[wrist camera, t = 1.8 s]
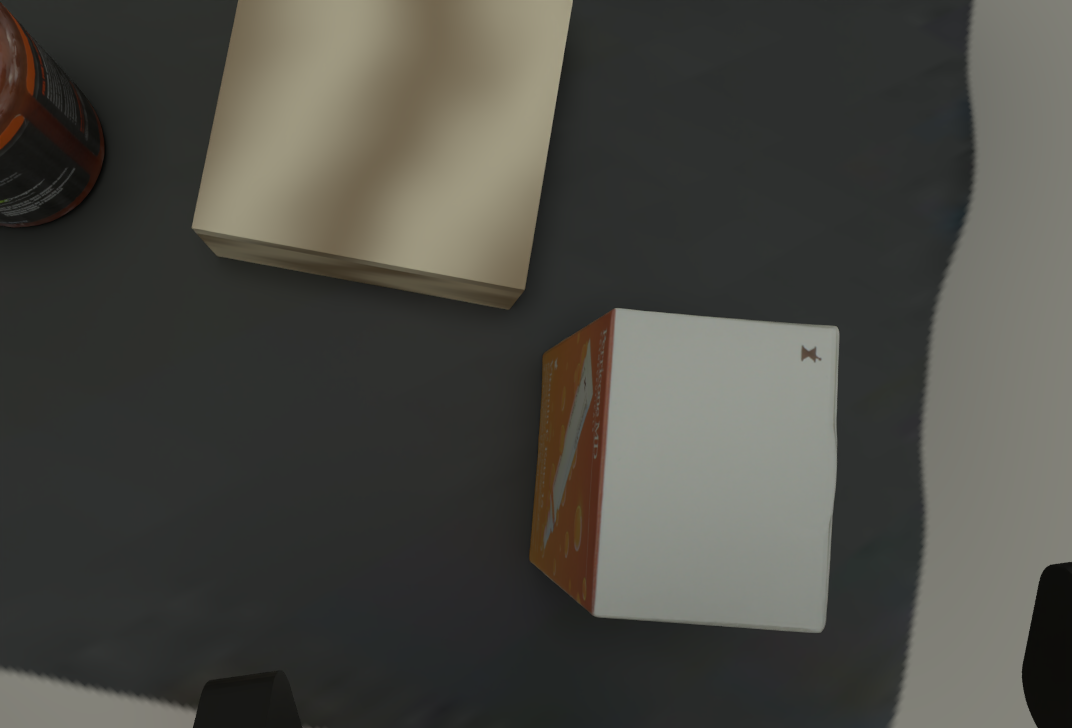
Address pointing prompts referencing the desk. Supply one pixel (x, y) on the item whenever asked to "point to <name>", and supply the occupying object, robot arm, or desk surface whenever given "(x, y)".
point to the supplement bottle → (42, 133)
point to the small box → (689, 469)
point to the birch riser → (386, 141)
